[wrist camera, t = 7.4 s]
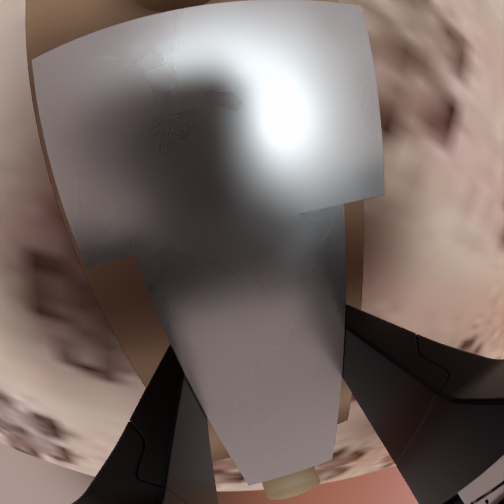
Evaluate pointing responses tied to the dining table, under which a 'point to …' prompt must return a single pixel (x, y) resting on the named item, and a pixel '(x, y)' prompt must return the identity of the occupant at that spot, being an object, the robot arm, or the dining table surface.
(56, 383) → the dining table surface
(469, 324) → the dining table surface
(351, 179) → the grey stepped block
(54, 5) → the peg rack
